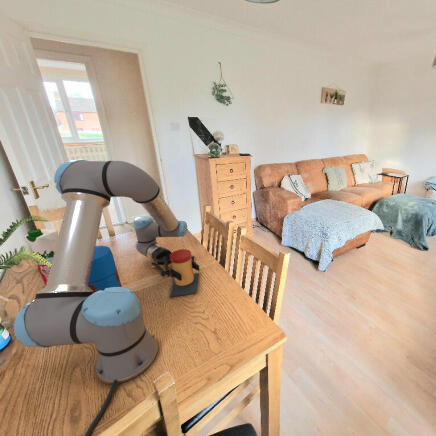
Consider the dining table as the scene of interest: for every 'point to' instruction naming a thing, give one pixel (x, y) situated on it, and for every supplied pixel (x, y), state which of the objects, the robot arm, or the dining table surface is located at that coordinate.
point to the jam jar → (184, 272)
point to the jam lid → (180, 256)
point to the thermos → (103, 270)
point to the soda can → (45, 270)
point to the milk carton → (43, 241)
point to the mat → (185, 288)
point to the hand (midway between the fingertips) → (189, 272)
